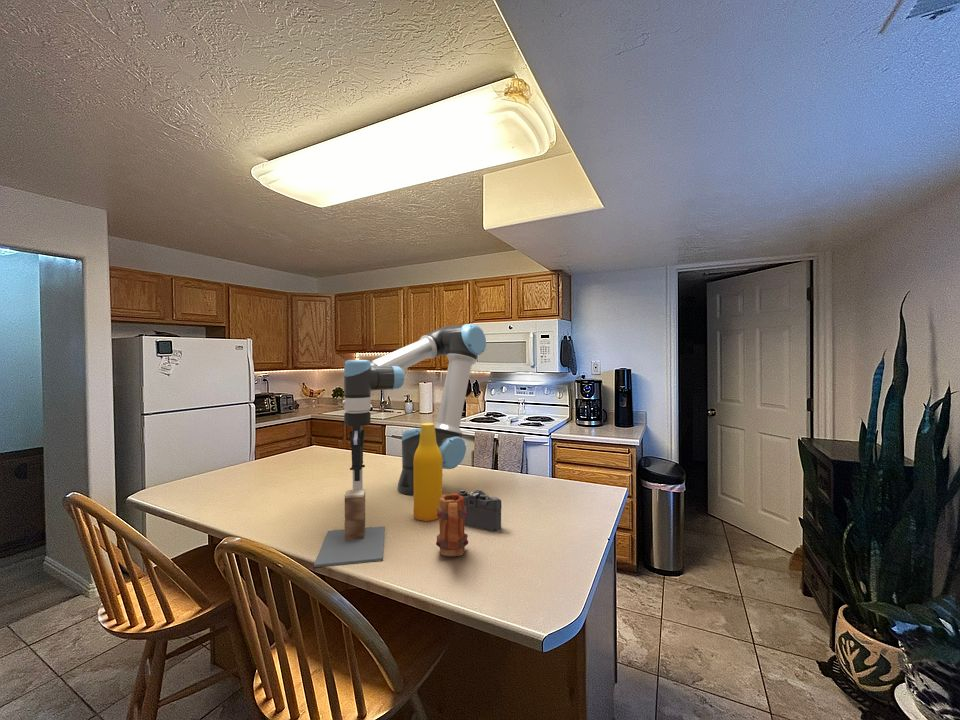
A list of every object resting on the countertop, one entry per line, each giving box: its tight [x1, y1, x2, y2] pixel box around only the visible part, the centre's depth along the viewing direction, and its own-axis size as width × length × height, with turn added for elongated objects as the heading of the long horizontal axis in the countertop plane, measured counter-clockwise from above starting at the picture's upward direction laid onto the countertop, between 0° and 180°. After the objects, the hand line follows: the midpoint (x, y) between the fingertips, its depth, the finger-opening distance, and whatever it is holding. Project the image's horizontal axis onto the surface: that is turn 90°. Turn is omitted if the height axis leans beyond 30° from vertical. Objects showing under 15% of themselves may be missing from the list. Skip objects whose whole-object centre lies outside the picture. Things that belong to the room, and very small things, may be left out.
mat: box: [313, 525, 386, 568], centre depth 109 cm, size 16×20×1 cm
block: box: [344, 488, 366, 540], centre depth 114 cm, size 5×5×12 cm
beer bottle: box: [412, 422, 444, 522], centre depth 129 cm, size 9×9×29 cm
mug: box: [435, 492, 469, 558], centre depth 102 cm, size 15×8×15 cm, turn 5°
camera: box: [457, 489, 502, 533], centre depth 124 cm, size 14×11×10 cm
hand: (357, 490), depth 122 cm, fingers closed
